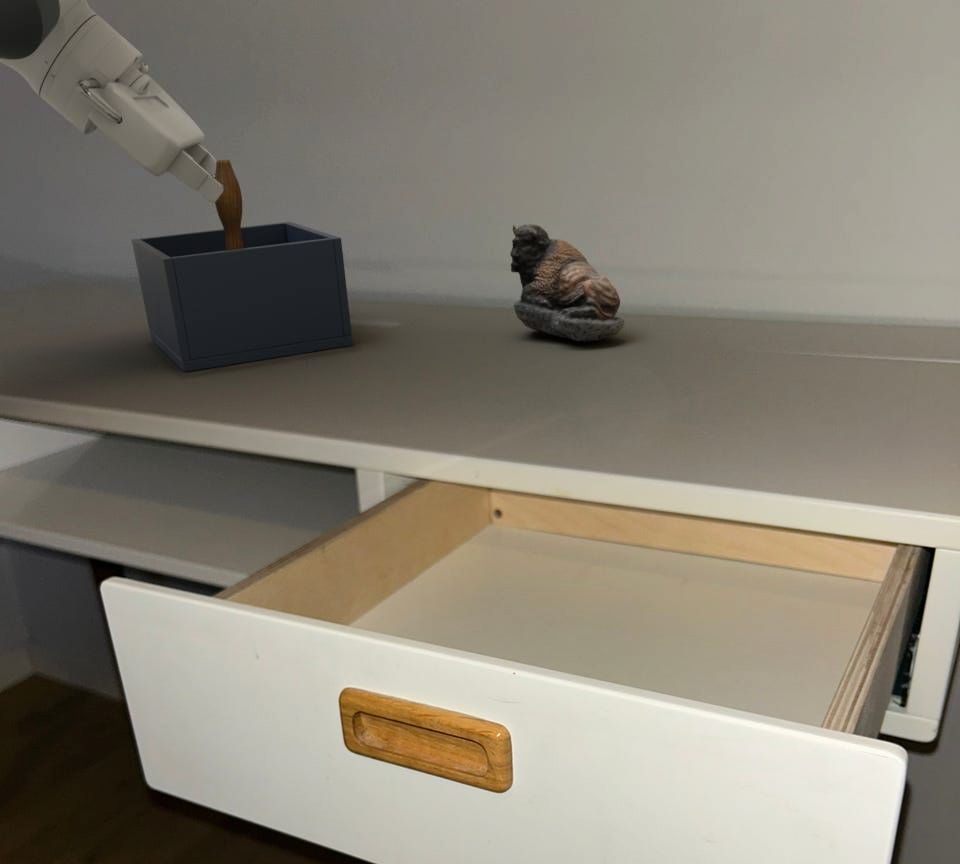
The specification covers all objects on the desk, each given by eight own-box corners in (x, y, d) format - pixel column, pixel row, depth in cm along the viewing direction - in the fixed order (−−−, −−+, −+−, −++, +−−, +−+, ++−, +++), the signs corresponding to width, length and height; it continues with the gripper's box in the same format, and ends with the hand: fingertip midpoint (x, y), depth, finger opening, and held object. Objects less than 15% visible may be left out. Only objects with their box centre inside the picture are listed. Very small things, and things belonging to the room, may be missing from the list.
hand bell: (254, 320, 113) (229, 155, 106) (304, 328, 108) (282, 156, 101) (188, 336, 108) (157, 164, 100) (238, 346, 103) (209, 165, 95)
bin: (184, 372, 99) (163, 259, 94) (151, 339, 112) (131, 239, 107) (353, 345, 105) (341, 237, 100) (302, 317, 118) (290, 221, 113)
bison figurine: (637, 338, 101) (638, 224, 96) (590, 353, 97) (590, 236, 92) (540, 324, 108) (537, 219, 104) (493, 338, 104) (488, 229, 99)
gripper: (93, 48, 86) (235, 172, 92) (138, 55, 104) (253, 158, 110) (50, 113, 88) (191, 231, 93) (101, 108, 106) (216, 207, 111)
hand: (225, 191), depth 102 cm, fingers open, 8 cm apart
